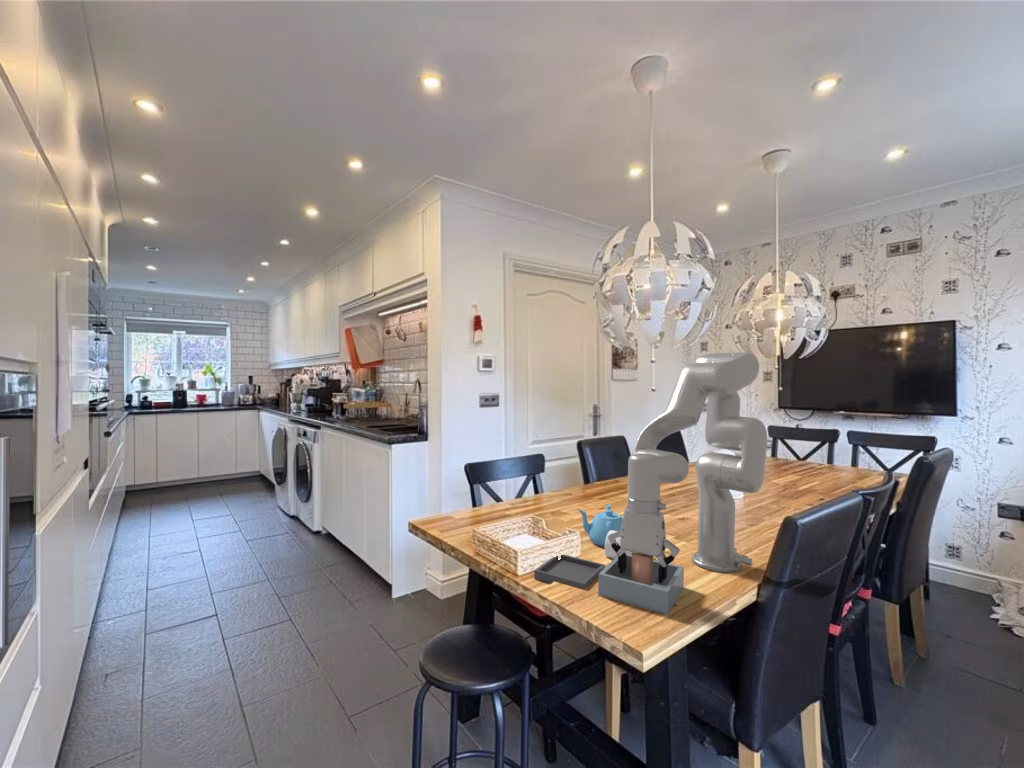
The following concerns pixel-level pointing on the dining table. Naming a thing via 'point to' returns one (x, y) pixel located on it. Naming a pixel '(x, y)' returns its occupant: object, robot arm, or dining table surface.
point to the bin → (641, 586)
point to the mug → (608, 549)
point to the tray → (569, 571)
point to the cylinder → (642, 568)
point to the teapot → (601, 525)
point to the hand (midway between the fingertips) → (641, 576)
